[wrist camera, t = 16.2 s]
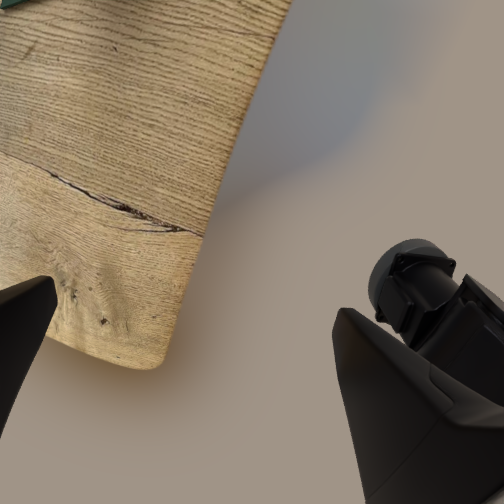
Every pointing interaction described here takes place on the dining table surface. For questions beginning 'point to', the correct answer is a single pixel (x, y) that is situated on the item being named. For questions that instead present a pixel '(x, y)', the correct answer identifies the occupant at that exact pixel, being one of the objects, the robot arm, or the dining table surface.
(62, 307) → the dining table surface
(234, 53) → the dining table surface
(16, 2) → the play mat
